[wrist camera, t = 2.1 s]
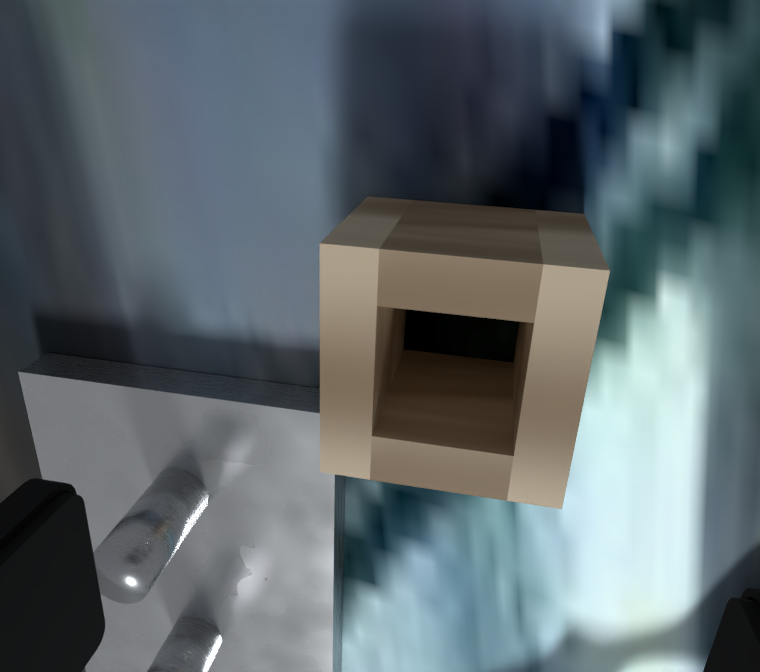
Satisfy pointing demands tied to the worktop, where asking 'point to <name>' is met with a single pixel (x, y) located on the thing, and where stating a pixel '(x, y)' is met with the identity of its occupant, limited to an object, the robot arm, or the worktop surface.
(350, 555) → the worktop surface
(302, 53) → the worktop surface
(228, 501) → the housing plate
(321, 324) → the hollow wooden block
